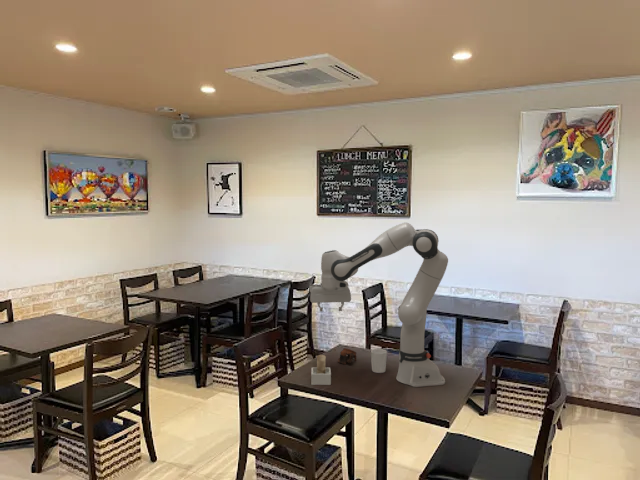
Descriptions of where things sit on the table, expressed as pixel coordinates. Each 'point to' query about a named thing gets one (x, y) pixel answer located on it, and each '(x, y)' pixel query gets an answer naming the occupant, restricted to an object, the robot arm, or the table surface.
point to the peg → (321, 364)
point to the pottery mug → (349, 358)
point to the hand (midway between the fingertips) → (330, 311)
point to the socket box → (320, 377)
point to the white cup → (378, 360)
